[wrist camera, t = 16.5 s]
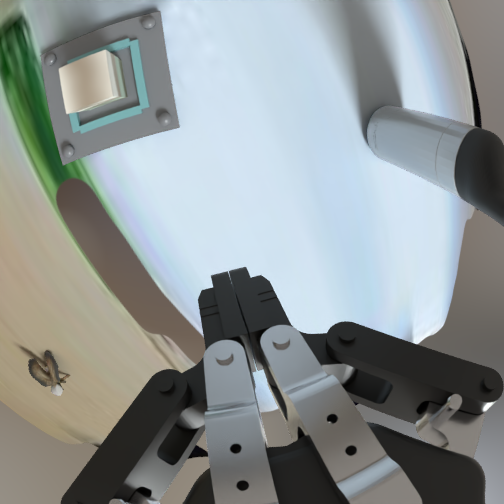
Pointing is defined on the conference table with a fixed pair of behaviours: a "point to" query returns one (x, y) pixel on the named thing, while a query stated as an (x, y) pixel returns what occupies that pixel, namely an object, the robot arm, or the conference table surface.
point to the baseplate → (137, 85)
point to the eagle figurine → (47, 374)
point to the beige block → (92, 82)
